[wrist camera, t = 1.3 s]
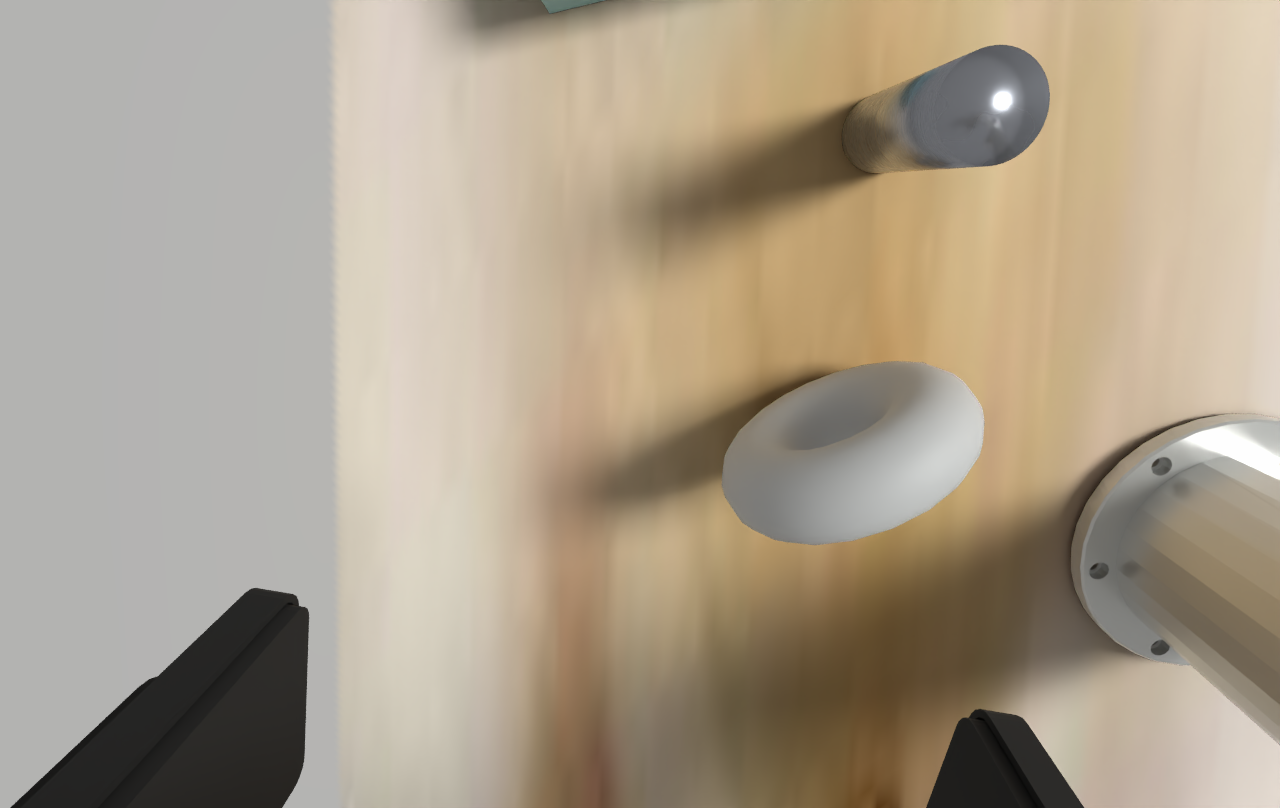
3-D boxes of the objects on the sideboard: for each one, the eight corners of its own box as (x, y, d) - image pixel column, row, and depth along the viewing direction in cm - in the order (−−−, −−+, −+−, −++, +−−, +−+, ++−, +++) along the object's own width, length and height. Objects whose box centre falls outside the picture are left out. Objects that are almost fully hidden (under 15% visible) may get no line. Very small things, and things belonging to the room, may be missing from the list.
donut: (730, 482, 33) (759, 603, 23) (699, 419, 32) (717, 517, 23) (935, 395, 31) (1056, 485, 22) (909, 326, 31) (1023, 389, 21)
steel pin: (913, 86, 28) (1047, 33, 18) (920, 164, 29) (1051, 153, 19) (837, 103, 28) (930, 59, 18) (846, 180, 29) (939, 176, 19)
